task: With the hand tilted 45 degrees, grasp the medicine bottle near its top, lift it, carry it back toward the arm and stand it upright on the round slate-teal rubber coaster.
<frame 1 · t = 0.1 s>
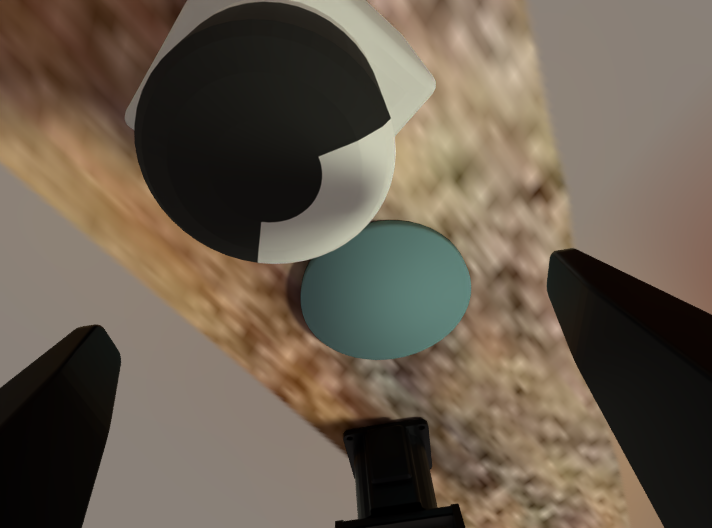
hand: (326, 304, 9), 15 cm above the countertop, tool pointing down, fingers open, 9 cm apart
coaster: (384, 292, 28), on the countertop
medicine bottle: (290, 51, 20), on the countertop
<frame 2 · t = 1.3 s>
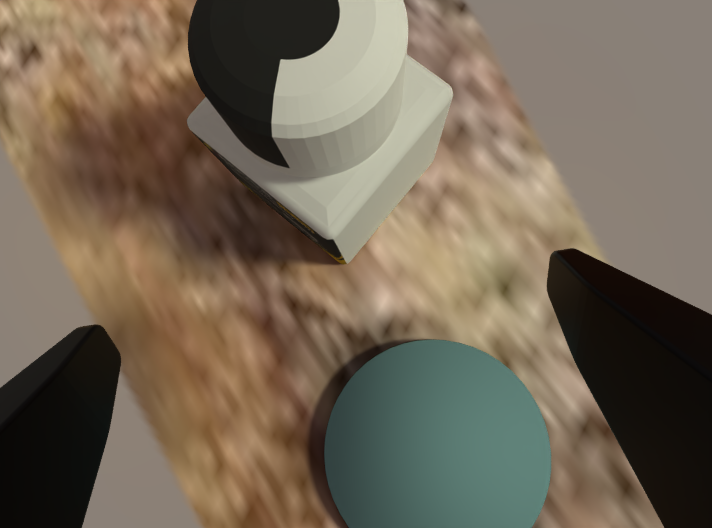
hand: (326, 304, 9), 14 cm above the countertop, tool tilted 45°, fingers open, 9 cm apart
coaster: (434, 449, 22), on the countertop
medicine bottle: (336, 171, 24), on the countertop
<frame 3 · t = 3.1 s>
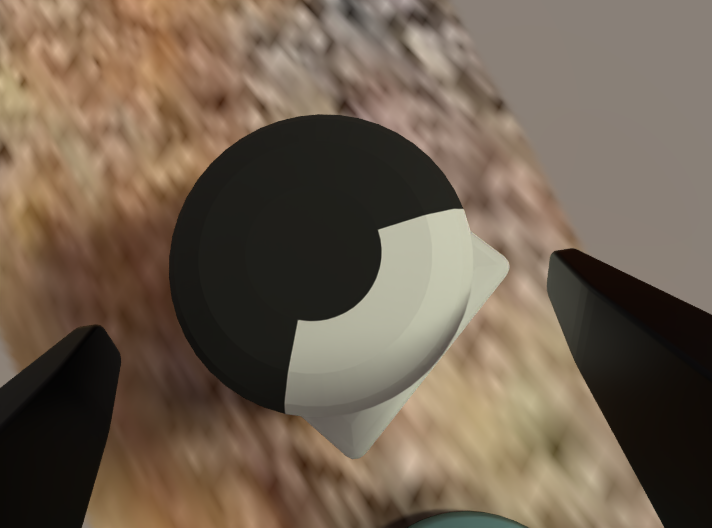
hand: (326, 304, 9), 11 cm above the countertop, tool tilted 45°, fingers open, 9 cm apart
medicine bottle: (354, 300, 21), on the countertop
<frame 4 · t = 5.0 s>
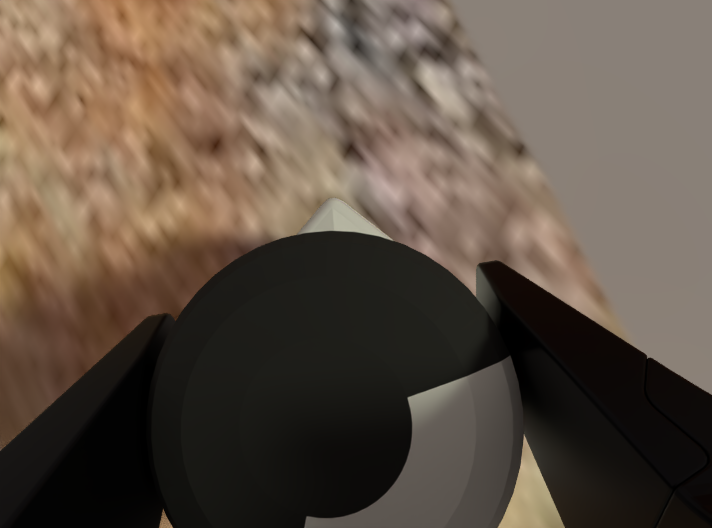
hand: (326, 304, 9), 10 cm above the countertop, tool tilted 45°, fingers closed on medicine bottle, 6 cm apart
medicine bottle: (362, 364, 19), on the countertop, touching gripper
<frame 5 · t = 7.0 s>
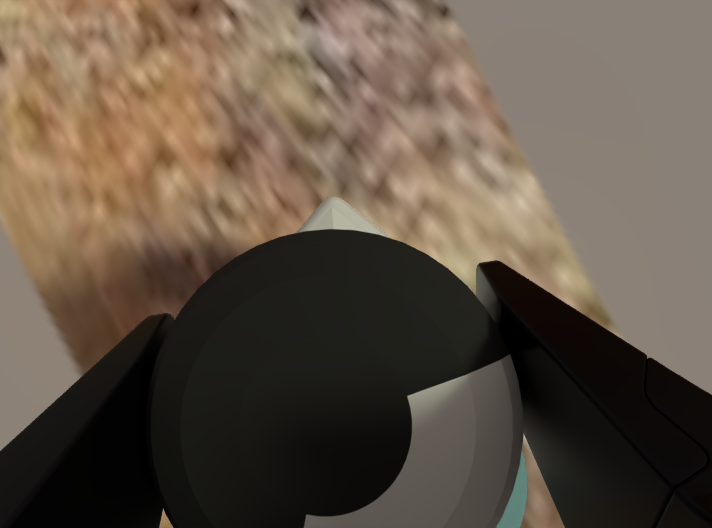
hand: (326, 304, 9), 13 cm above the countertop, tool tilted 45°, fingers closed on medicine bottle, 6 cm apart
coaster: (408, 472, 21), on the countertop
medicine bottle: (361, 363, 19), point 3 cm above the countertop, touching gripper
when the fingers open (12 cm above the countertop, at t = 9.0 s): medicine bottle drops 1 cm, resting on coaster.
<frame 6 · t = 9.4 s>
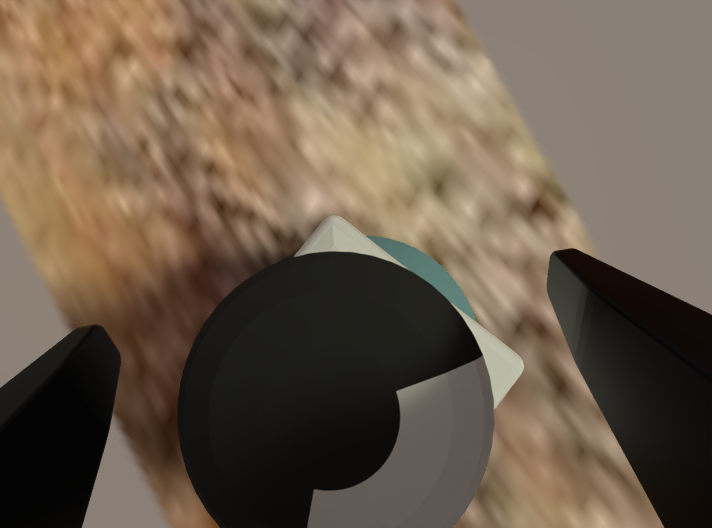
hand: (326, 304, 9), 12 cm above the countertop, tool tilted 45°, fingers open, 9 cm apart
coaster: (362, 350, 21), on the countertop
medicine bottle: (361, 364, 20), point 1 cm above the countertop, touching coaster
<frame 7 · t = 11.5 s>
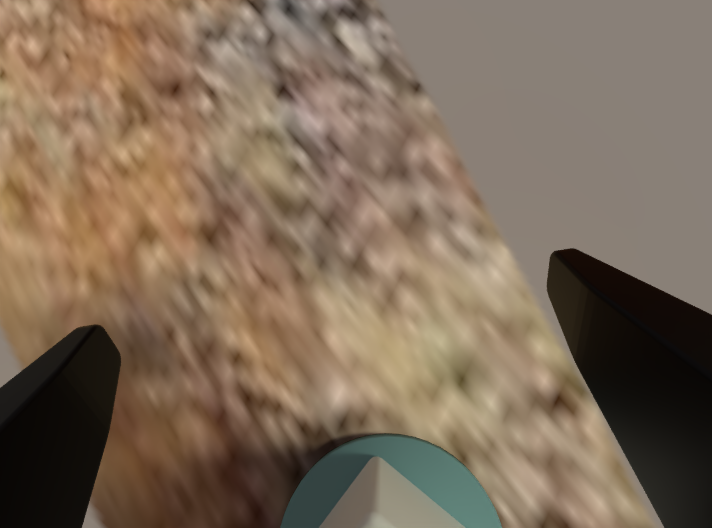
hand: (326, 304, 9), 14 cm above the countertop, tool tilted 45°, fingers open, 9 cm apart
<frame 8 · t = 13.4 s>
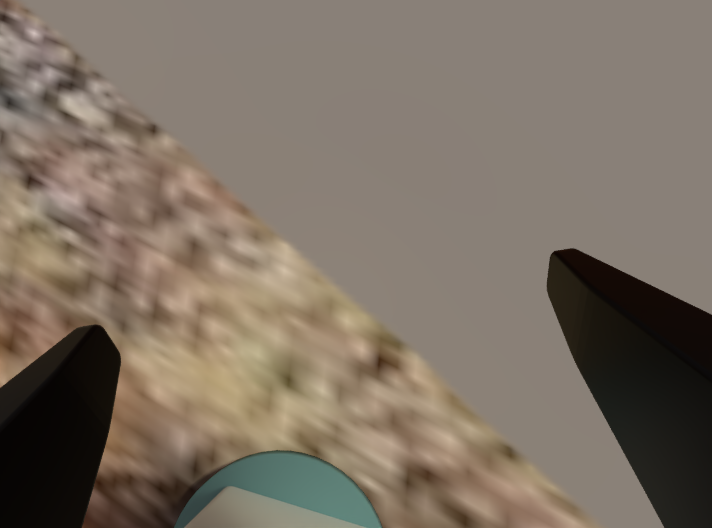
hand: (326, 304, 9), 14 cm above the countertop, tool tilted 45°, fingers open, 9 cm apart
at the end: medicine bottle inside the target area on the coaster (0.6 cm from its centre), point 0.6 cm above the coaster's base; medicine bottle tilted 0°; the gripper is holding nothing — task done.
